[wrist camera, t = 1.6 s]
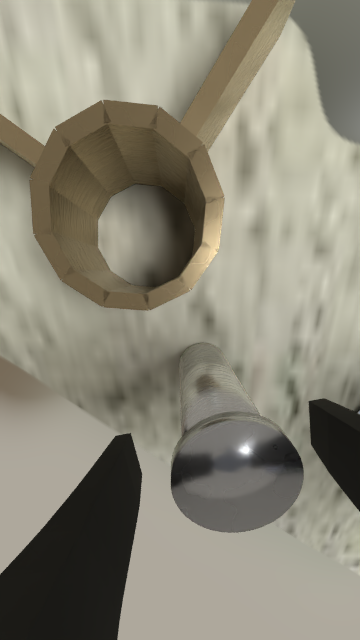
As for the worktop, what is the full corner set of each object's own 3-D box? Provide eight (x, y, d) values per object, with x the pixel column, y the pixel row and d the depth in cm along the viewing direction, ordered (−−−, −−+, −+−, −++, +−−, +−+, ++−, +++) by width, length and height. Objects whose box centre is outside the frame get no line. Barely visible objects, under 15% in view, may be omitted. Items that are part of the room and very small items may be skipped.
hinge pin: (243, 358, 15) (331, 466, 6) (208, 401, 16) (247, 550, 7) (195, 326, 14) (224, 399, 6) (162, 372, 15) (145, 497, 7)
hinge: (325, 79, 11) (438, -69, 6) (162, 318, 14) (155, 341, 9) (58, -182, 9) (-77, -706, 4) (-75, 162, 12) (-251, 82, 7)
